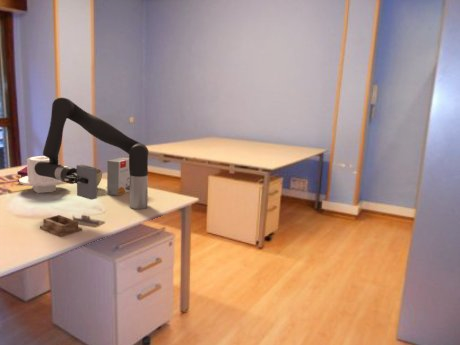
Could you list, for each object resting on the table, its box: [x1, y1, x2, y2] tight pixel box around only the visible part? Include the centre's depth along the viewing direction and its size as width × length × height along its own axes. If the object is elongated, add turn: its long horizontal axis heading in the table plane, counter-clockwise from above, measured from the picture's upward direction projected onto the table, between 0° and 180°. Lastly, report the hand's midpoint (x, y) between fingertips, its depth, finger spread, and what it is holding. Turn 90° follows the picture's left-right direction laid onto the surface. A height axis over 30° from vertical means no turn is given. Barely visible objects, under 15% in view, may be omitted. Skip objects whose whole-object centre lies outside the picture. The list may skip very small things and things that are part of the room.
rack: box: [39, 214, 83, 238], centre depth 167 cm, size 15×10×4 cm, turn 57°
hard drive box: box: [106, 156, 130, 197], centre depth 228 cm, size 16×8×20 cm, turn 161°
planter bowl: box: [97, 168, 104, 187], centre depth 233 cm, size 16×16×11 cm
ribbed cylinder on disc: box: [18, 155, 66, 194], centre depth 223 cm, size 25×25×19 cm
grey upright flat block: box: [76, 164, 98, 201], centre depth 174 cm, size 10×3×14 cm, turn 57°
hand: (90, 180), depth 173 cm, fingers closed on grey upright flat block, 3 cm apart
